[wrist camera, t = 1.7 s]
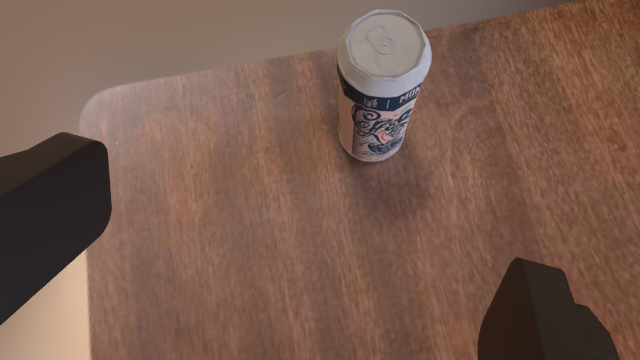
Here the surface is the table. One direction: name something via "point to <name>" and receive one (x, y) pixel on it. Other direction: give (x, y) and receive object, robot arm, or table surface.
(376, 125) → the beer can
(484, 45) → the table surface
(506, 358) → the robot arm
